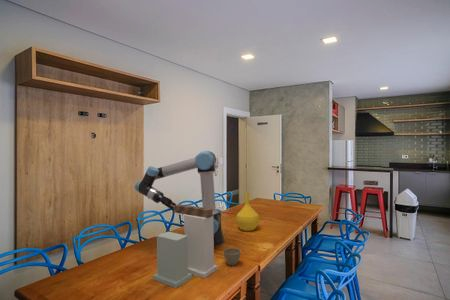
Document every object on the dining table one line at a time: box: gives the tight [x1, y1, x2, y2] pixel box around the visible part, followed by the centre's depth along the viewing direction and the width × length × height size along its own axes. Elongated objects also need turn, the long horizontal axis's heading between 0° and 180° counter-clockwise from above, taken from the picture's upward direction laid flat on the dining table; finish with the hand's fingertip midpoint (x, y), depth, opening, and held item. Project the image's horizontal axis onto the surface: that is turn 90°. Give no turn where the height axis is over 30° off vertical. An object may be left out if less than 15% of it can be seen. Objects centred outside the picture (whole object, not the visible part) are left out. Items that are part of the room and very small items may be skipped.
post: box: [152, 231, 193, 289], centre depth 136 cm, size 16×12×22 cm
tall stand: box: [183, 214, 219, 279], centre depth 145 cm, size 16×12×30 cm
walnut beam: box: [174, 203, 213, 218], centre depth 147 cm, size 24×4×4 cm, turn 57°
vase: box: [235, 192, 260, 232], centre depth 216 cm, size 18×18×30 cm
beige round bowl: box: [222, 247, 242, 266], centre depth 153 cm, size 10×10×7 cm
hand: (181, 211), depth 172 cm, fingers open, 13 cm apart
